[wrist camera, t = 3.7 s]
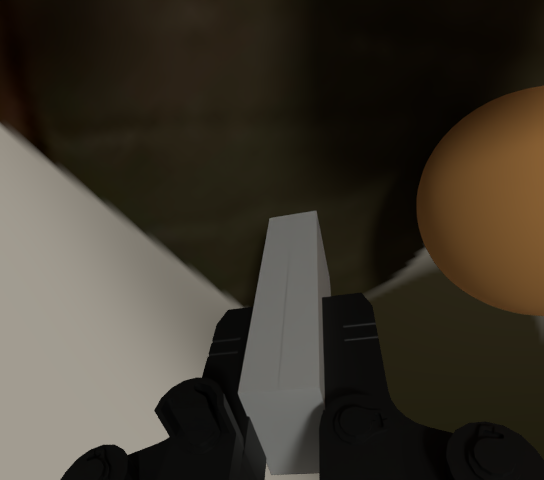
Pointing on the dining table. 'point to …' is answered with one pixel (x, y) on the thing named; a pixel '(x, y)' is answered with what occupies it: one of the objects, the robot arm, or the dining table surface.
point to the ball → (490, 203)
